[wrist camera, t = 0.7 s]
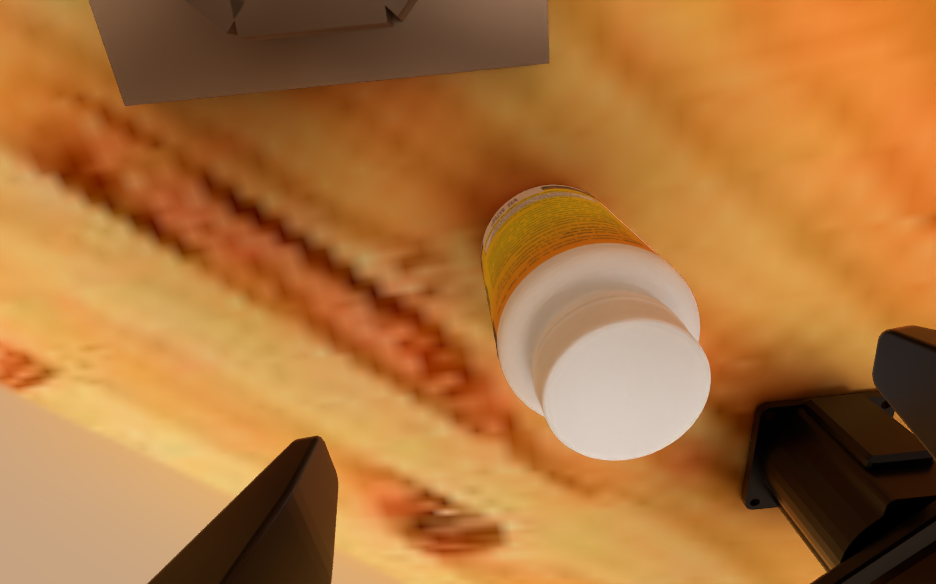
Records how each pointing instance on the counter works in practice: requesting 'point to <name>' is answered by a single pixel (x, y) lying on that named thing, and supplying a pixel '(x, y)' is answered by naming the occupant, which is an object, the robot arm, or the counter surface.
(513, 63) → the walnut stand
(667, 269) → the supplement bottle
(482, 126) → the counter surface
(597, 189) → the counter surface
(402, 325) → the counter surface
